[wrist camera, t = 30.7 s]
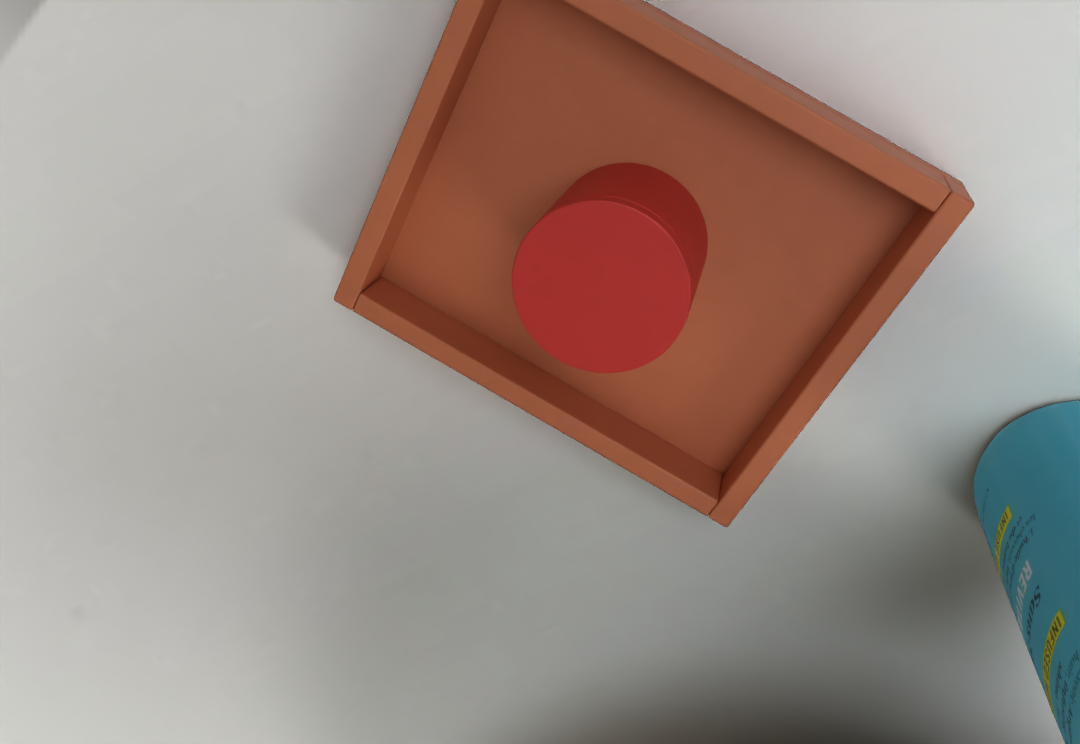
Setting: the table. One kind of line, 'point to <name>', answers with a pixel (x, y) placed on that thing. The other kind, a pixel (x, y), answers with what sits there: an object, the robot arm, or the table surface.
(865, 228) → the tray
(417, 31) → the table surface
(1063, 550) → the tube
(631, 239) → the cap
